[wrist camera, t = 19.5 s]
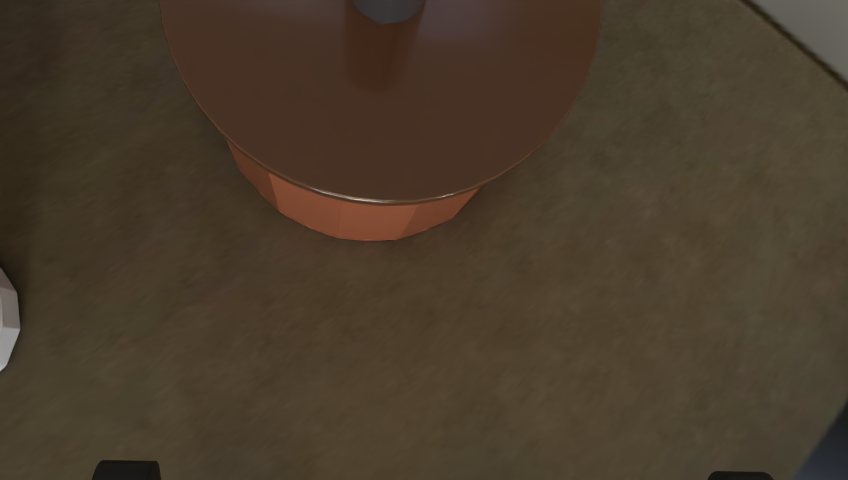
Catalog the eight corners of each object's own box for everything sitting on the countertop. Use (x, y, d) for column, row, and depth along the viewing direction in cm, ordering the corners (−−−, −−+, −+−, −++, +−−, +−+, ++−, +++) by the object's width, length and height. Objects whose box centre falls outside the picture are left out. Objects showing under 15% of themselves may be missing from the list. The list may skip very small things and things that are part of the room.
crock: (551, 35, 37) (637, -90, 27) (445, 287, 35) (495, 256, 25) (296, -82, 37) (285, -255, 27) (170, 167, 34) (105, 83, 24)
